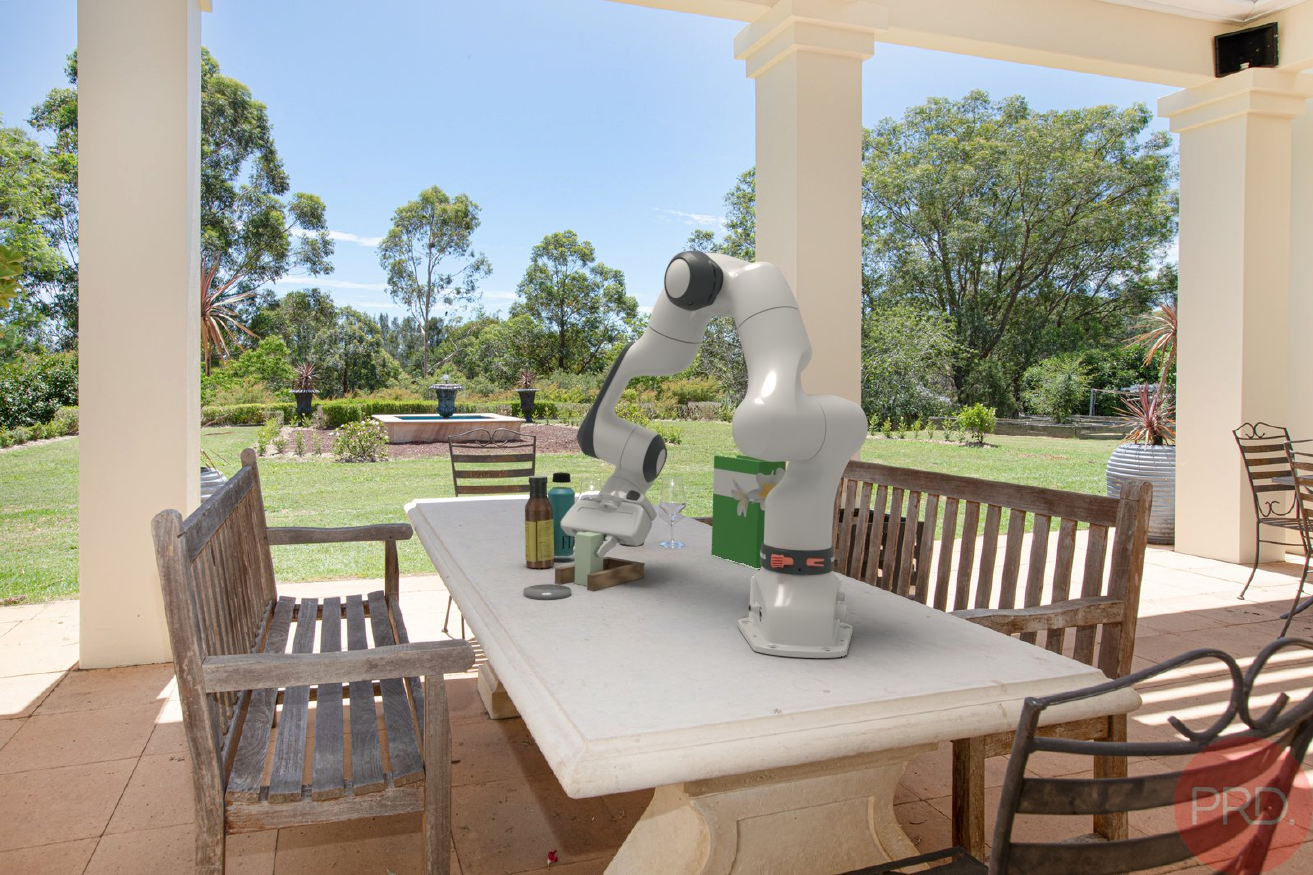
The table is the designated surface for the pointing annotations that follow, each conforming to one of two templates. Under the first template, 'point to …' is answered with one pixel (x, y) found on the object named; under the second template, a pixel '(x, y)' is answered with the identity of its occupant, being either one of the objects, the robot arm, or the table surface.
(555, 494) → the beverage bottle
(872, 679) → the table surface
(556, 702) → the table surface
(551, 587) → the coaster
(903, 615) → the table surface
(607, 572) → the channel
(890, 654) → the table surface
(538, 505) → the sauce bottle
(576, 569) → the block
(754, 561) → the green gift bag
